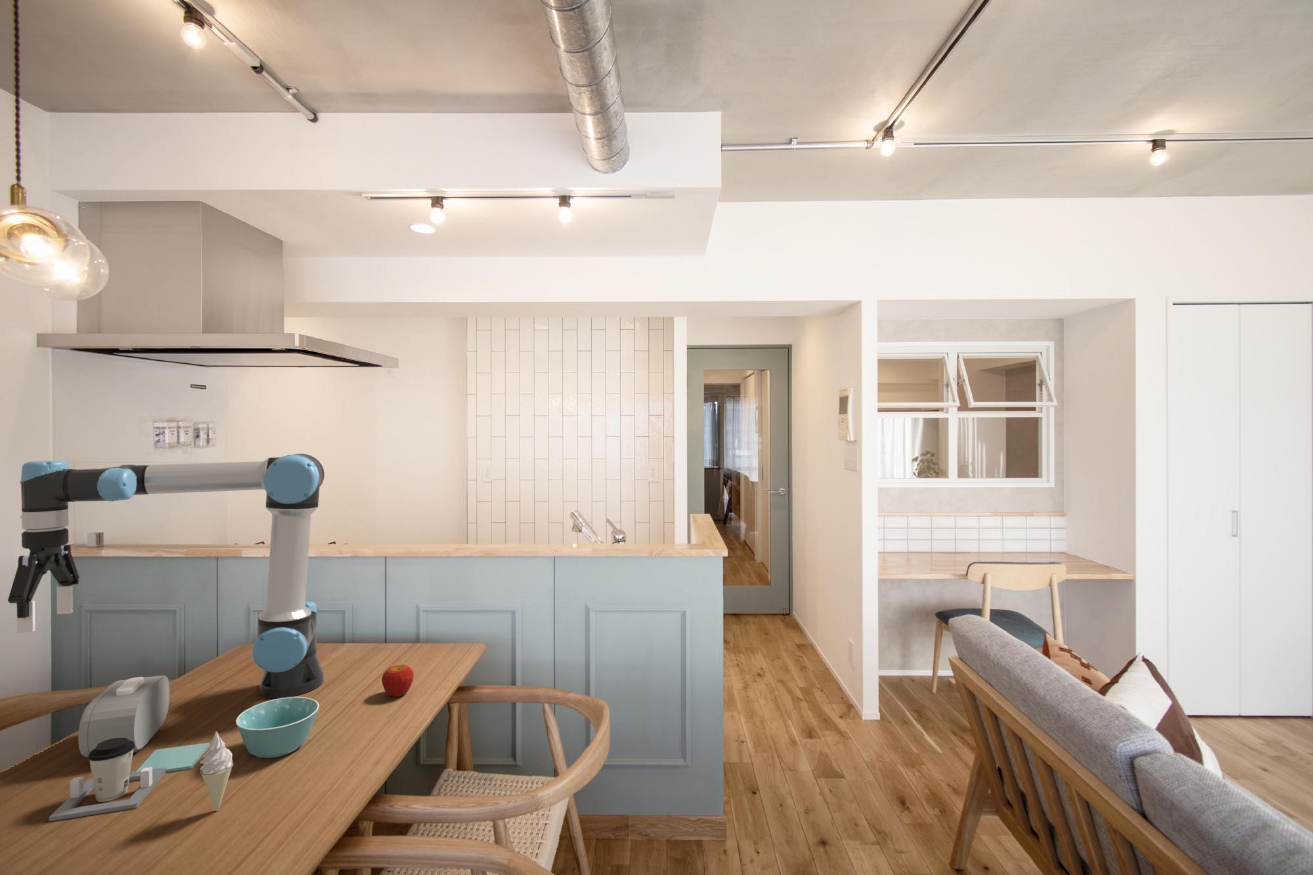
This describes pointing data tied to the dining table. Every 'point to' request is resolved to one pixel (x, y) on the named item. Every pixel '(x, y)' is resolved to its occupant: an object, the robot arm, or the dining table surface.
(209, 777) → the ice cream cone
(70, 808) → the collar
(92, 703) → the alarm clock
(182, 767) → the coaster
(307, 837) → the dining table surface
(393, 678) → the apple
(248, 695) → the dining table surface
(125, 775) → the coffee cup
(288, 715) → the bowl
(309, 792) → the dining table surface
